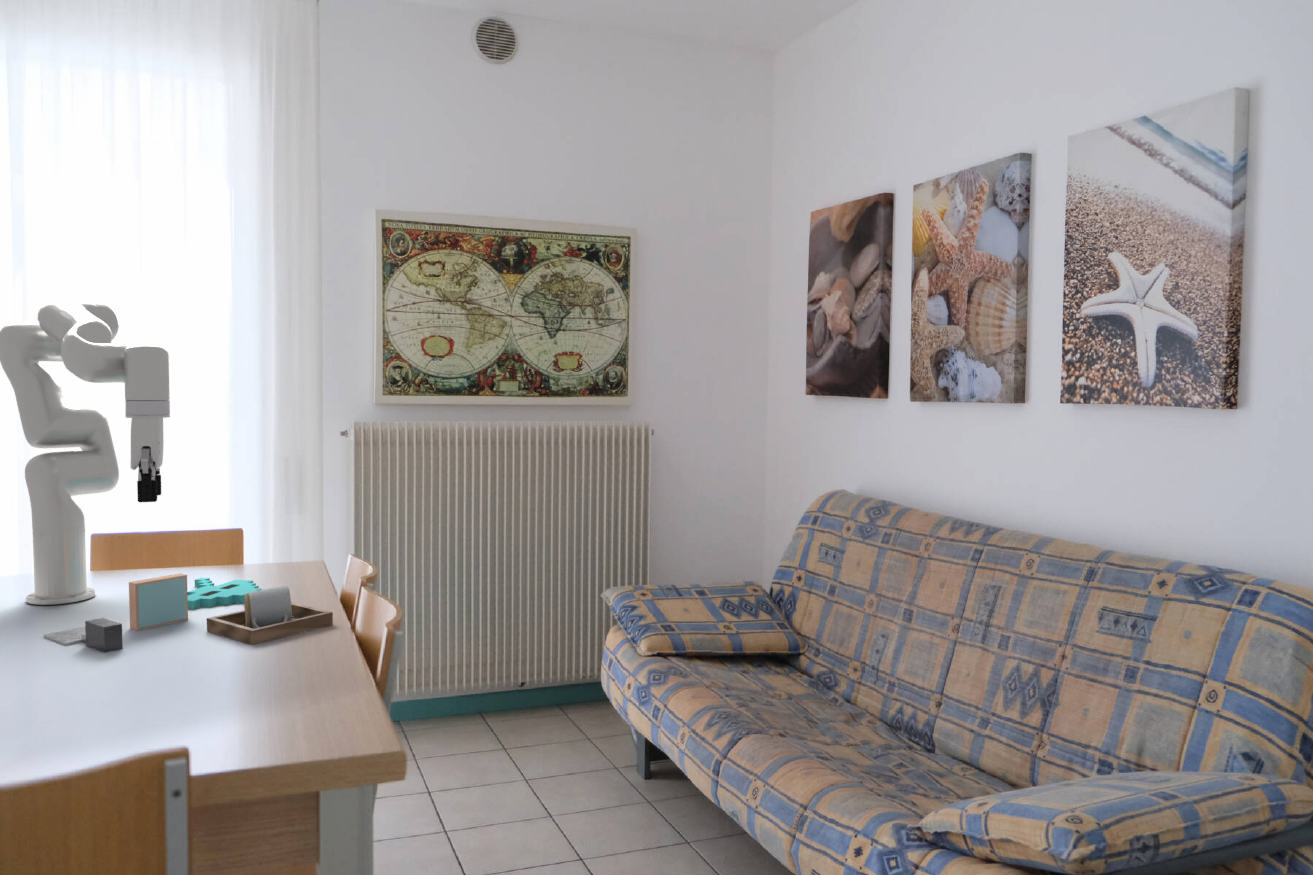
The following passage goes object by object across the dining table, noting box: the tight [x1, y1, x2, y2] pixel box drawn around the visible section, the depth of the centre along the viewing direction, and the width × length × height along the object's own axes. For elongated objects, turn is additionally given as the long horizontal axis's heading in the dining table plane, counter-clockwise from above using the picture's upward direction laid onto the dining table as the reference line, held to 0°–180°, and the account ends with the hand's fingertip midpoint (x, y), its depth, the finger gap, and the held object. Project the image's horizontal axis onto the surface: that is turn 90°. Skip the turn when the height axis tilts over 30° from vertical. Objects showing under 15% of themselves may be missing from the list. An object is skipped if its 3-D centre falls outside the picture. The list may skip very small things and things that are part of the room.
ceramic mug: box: [243, 585, 293, 629], centre depth 183 cm, size 11×8×8 cm
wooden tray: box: [206, 601, 334, 645], centre depth 183 cm, size 15×17×2 cm
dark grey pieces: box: [43, 617, 124, 654], centre depth 173 cm, size 19×7×4 cm, turn 55°
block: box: [128, 572, 189, 631], centre depth 186 cm, size 3×10×9 cm, turn 145°
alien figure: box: [187, 577, 263, 610], centre depth 208 cm, size 20×2×20 cm
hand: (149, 498), depth 184 cm, fingers open, 9 cm apart
